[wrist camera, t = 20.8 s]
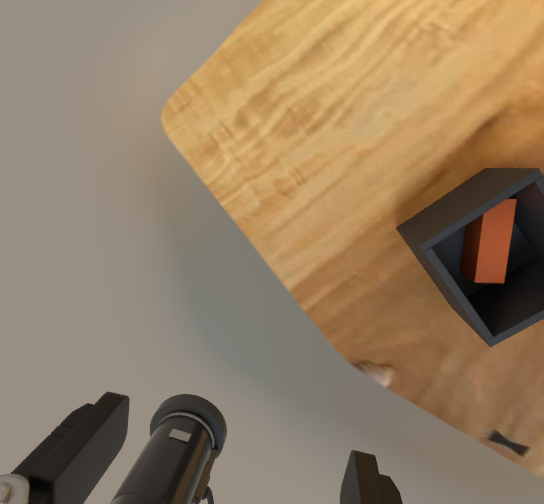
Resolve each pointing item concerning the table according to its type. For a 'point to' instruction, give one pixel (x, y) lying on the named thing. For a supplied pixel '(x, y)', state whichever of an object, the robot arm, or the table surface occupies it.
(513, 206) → the orange block
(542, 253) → the bin
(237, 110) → the table surface
